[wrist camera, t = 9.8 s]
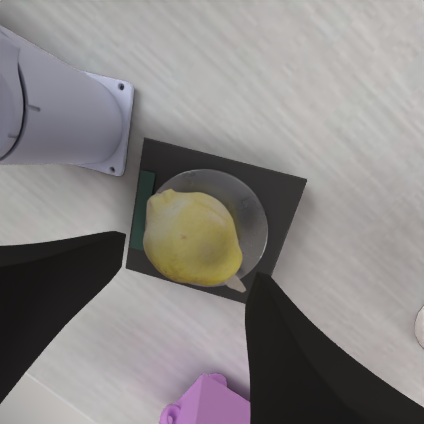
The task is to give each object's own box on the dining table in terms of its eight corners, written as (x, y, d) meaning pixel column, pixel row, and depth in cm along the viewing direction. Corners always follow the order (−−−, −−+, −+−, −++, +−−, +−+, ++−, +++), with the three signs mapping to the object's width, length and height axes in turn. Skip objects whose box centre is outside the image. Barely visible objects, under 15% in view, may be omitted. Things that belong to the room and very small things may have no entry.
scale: (137, 256, 21) (123, 270, 18) (156, 140, 18) (142, 136, 15) (256, 290, 20) (259, 310, 18) (297, 176, 17) (309, 179, 14)
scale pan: (141, 264, 18) (137, 268, 17) (159, 154, 16) (155, 154, 15) (246, 294, 18) (246, 301, 17) (283, 187, 15) (286, 188, 14)
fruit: (215, 299, 17) (125, 223, 15) (263, 250, 18) (181, 167, 15) (236, 356, 12) (97, 247, 9) (305, 283, 12) (186, 158, 10)
